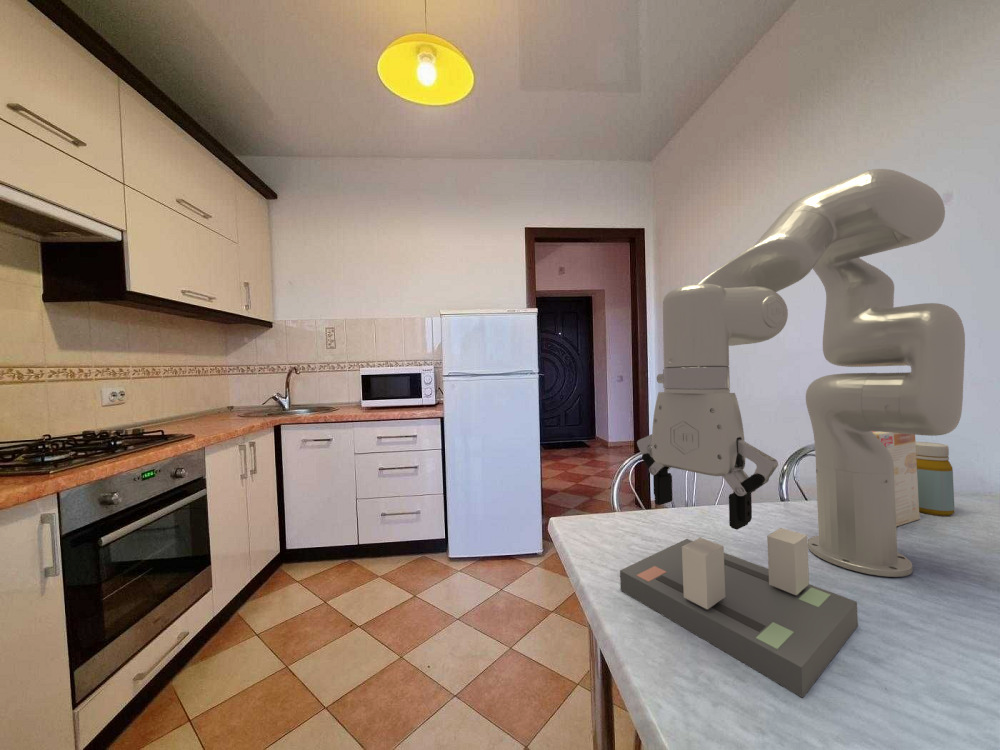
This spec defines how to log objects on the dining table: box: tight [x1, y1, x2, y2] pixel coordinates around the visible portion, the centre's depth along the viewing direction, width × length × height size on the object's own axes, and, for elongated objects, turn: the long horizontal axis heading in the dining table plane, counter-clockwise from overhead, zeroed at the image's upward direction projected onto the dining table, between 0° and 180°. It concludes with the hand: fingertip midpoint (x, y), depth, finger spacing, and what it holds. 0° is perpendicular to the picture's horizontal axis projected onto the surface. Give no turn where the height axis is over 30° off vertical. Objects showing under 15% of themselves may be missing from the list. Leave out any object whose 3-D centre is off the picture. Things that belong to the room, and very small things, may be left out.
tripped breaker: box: [682, 537, 725, 610], centre depth 46 cm, size 4×3×7 cm
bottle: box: [915, 441, 956, 517], centre depth 80 cm, size 7×7×15 cm
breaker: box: [766, 527, 810, 595], centre depth 48 cm, size 4×3×7 cm
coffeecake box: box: [872, 431, 921, 527], centre depth 76 cm, size 15×7×20 cm, turn 110°
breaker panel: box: [619, 538, 859, 698], centre depth 49 cm, size 18×22×3 cm
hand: (698, 513), depth 46 cm, fingers open, 9 cm apart
